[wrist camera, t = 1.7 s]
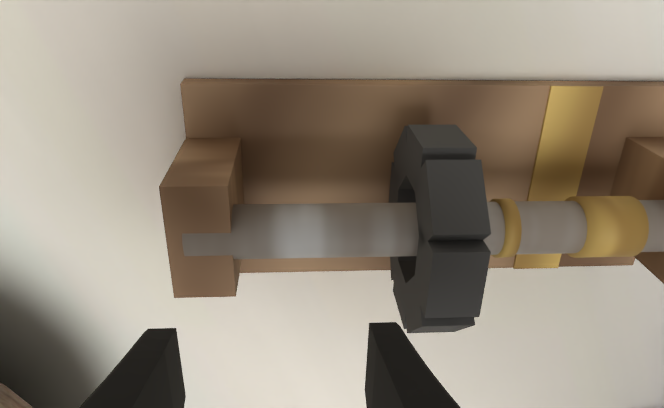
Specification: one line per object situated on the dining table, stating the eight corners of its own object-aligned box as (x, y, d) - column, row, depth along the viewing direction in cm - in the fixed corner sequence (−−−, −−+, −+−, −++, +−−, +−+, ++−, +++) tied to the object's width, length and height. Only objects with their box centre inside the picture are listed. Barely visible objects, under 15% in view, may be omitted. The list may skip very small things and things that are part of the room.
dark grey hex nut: (439, 106, 19) (504, 177, 13) (421, 259, 22) (468, 373, 16) (395, 106, 19) (442, 178, 13) (384, 259, 22) (417, 375, 16)
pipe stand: (677, 81, 21) (796, 124, 16) (622, 255, 24) (706, 334, 19) (184, 78, 19) (147, 124, 14) (203, 263, 23) (179, 349, 18)
